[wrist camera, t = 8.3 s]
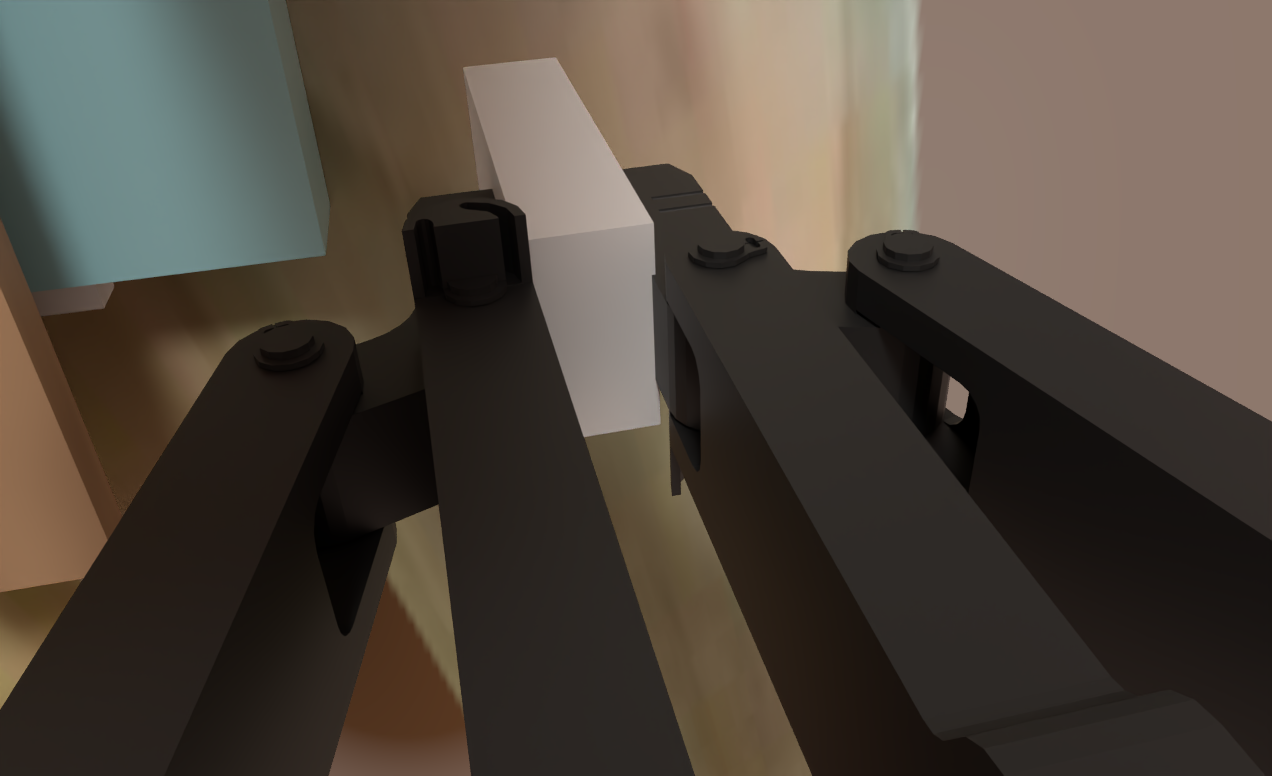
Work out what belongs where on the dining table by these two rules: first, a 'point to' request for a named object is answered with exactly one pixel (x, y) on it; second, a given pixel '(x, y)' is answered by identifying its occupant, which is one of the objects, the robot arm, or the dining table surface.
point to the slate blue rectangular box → (154, 139)
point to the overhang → (45, 442)
